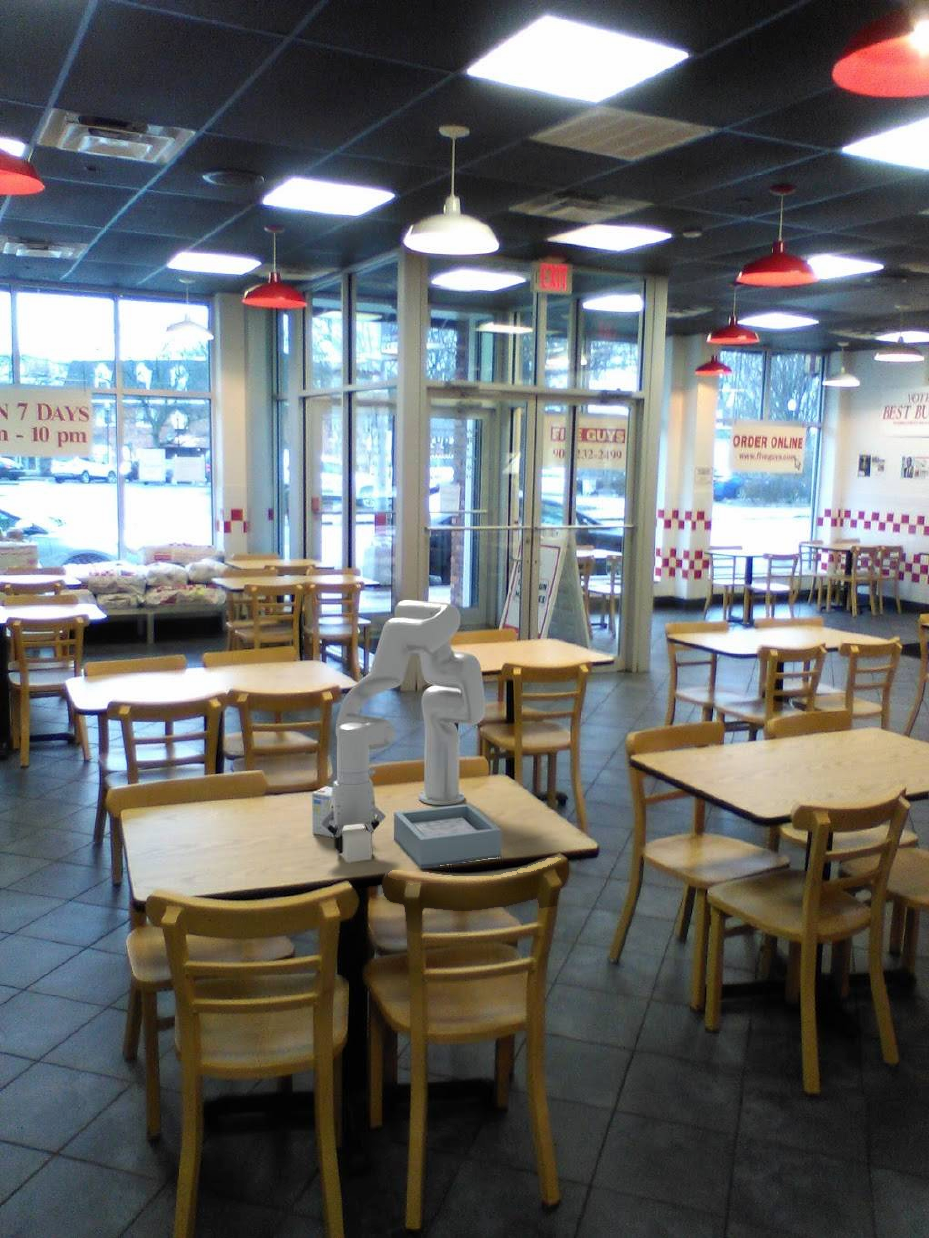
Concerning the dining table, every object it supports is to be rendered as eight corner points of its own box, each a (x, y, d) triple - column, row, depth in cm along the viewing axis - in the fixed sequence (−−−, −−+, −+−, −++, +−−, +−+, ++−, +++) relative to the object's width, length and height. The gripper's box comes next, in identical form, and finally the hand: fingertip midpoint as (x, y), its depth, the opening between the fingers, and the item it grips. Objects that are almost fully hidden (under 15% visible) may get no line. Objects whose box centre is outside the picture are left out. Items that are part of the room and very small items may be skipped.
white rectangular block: (335, 849, 256) (335, 825, 255) (359, 846, 259) (359, 822, 258) (347, 862, 248) (347, 837, 247) (371, 859, 251) (371, 834, 250)
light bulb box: (362, 832, 268) (362, 790, 266) (348, 841, 262) (348, 798, 260) (325, 825, 273) (325, 784, 271) (311, 833, 267) (311, 792, 265)
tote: (393, 839, 263) (394, 812, 262) (469, 830, 271) (469, 803, 270) (420, 869, 245) (420, 839, 244) (500, 858, 252) (501, 829, 251)
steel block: (412, 838, 261) (412, 823, 261) (461, 832, 266) (461, 817, 265) (429, 857, 249) (430, 841, 249) (481, 850, 254) (481, 834, 253)
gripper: (383, 768, 257) (383, 840, 260) (313, 775, 251) (313, 848, 254) (393, 777, 250) (392, 850, 253) (321, 784, 244) (321, 859, 247)
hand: (353, 849), depth 253 cm, fingers closed on white rectangular block, 6 cm apart
